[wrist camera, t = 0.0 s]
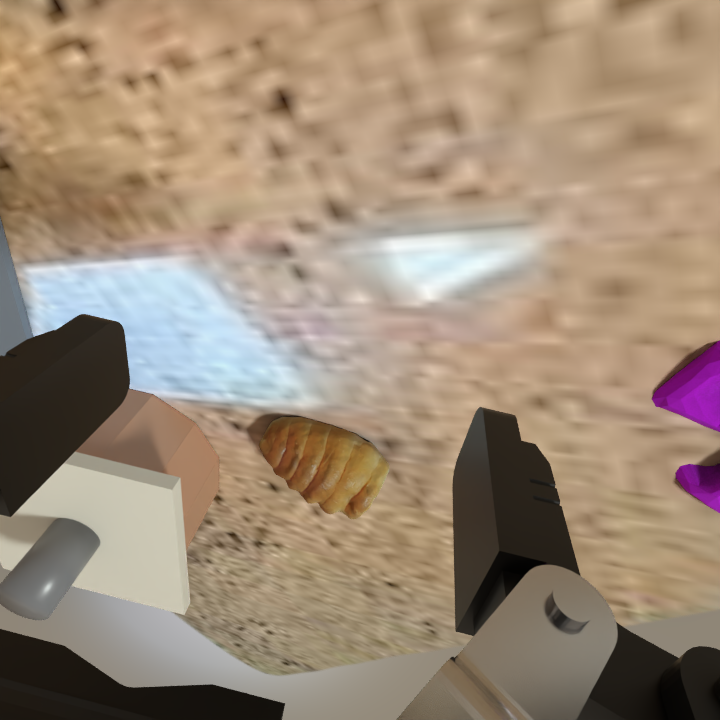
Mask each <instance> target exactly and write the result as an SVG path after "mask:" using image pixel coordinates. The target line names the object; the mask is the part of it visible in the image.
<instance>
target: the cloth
mask: <svg viewBox="0 0 720 720" xmlns="http://www.w3.org/2000/svg"><path fill="white" fill-rule="evenodd" d="M652 400H653V402H654V404H655V406H656V407H661V408H663V409H666V410H669V411H671V412H674V413H677V414H679V415H682V416H684V417H686V418H688V419H690V420H692V421H695V422H697V423H699V424H701V425H703V426H706V427H708V428H711V429H713V430H716V431H718V432H720V341H718V342H716V343H715V344H714V345H713V346H711V347H710V348H709V349H708V350H706V351H705V352H704V353H703V354H701V355H700V356H699V357H697V358H696V359H695V360H693V361H692V362H691V363H689V364H688V365H687V366H686V367H685V368H683V369H682V370H681V371H679V372H678V373H677V374H676V375H674V376H673V377H672V378H671V379H670V380H668V381H667V382H666V383H665V384H664V385H662V386H661V387H660V388H659V389H657V391H656V392H655V393H654V395H653V398H652ZM675 474H676V479H677V480H678V481H679V482H680V484H681V485H682V486H683V488H684V489H685V490H686V491H687V492H689V493H690V494H692V495H693V496H695V497H696V498H698V499H699V500H701V501H702V502H703V503H704V504H706V505H707V506H709V507H710V508H712V509H714V510H715V511H717V512H719V513H720V463H719V464H717V465H715V466H700V465H693V464H688V465H683V466H680V467H679V469H678V470H677V472H676V473H675Z"/></svg>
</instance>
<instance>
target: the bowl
mask: <svg viewBox="0 0 720 720" xmlns="http://www.w3.org/2000/svg"><path fill="white" fill-rule="evenodd" d="M75 452H78V453H82V454H86V455H90V456H95V457H99V458H103V459H107V460H111V461H115V462H119V463H123V464H127V465H131V466H135V467H139V468H144V469H148V470H152V471H156V472H160V473H164V474H168V475H172V476H176V477H180V480H181V493H182V506H183V519H184V531H185V544H186V550H187V548H188V546H189V544H190V542H191V540H192V539H193V537H194V535H195V533H196V531H197V529H198V527H199V525H200V523H201V522H202V520H203V518H204V516H205V514H206V512H207V510H208V508H209V506H210V505H211V503H212V501H213V499H214V497H215V495H216V493H217V491H218V489H219V457H218V455H217V454H216V452H215V451H214V449H213V448H212V446H211V445H210V444H209V442H208V441H207V439H206V438H205V436H204V435H203V433H202V432H201V430H200V429H199V427H198V426H197V424H196V423H195V422H193V421H192V420H190V419H189V418H187V417H186V416H184V415H183V414H181V413H180V412H178V411H177V410H175V409H174V408H172V407H171V406H169V405H168V404H166V403H165V402H163V401H162V400H160V399H159V398H157V397H156V396H154V395H152V394H148V393H144V392H140V391H135V390H131V389H128V393H127V395H126V398H125V399H124V401H123V403H122V404H121V405H120V406H119V407H118V409H117V410H116V411H115V412H114V413H113V414H112V415H111V416H110V417H109V418H108V419H107V420H106V421H105V422H104V423H103V424H102V425H101V426H100V427H99V428H98V429H97V430H96V431H95V432H94V433H93V434H92V435H91V436H90V437H89V438H88V439H87V440H86V441H85V442H84V443H83V444H82V445H81V446H80V447H79V448H78V449H77V450H76V451H75Z"/></svg>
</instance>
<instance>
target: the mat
mask: <svg viewBox="0 0 720 720" xmlns="http://www.w3.org/2000/svg"><path fill="white" fill-rule="evenodd" d="M32 337H33V334H32V331H31V327H30V323H29V320H28V316H27V313H26V309H25V305H24V302H23V298H22V294H21V291H20V287H19V283H18V280H17V276H16V273H15V269H14V265H13V262H12V258H11V254H10V251H9V247H8V244H7V240H6V236H5V233H4V229H3V225H2V222H1V218H0V356H1V355H2V356H5V355H6V352H8V351H9V350H11V349H12V348H14V347H15V346H17V345H19V344H20V343H22V342H23V341H25V340H27V339H29V338H32Z"/></svg>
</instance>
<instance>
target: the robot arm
mask: <svg viewBox="0 0 720 720" xmlns="http://www.w3.org/2000/svg"><path fill="white" fill-rule="evenodd" d="M129 384H130V376H129V368H128V359H127V351H126V342H125V334H124V329H123V327H122V325H121V324H120V323H119V322H116V321H112V320H108V319H103V318H99V317H95V316H90V315H86V314H82V315H79V316H77V317H75V318H74V319H72V320H71V321H69V322H68V323H66V324H65V325H63V326H62V327H60V328H58V329H57V330H53V331H50V332H47V333H44V334H41V335H38V336H35V337H32V338H29V339H27V340H25V341H23V342H22V343H20V344H19V345H17V346H15V347H14V348H12V349H11V350H9V351H8V352H6V355H5V356H2V355H1V356H0V515H4V516H8V517H11V516H12V515H13V514H14V513H15V512H16V511H17V510H18V509H19V508H20V507H21V506H22V505H23V504H24V503H25V502H26V501H27V500H28V499H29V498H30V497H31V496H32V495H33V494H34V493H35V492H36V491H37V490H38V489H39V488H40V487H41V486H42V485H43V484H44V483H45V482H46V481H47V480H48V479H49V478H50V477H51V476H52V475H53V474H54V473H55V472H56V471H57V470H58V469H59V468H60V467H61V466H62V465H63V463H64V462H65V461H66V460H67V459H68V458H69V457H70V456H71V455H72V454H73V453H74V452H75V451H76V450H77V449H78V448H79V447H80V446H81V445H82V444H83V443H84V442H85V441H86V440H87V439H88V438H89V437H90V436H91V435H92V434H93V433H94V432H95V431H96V430H97V429H98V428H99V427H100V426H101V425H102V424H103V423H104V422H105V421H106V420H107V419H108V418H109V417H110V416H111V415H112V414H113V413H114V412H115V411H116V410H117V409H118V407H119V406H120V405H121V404H122V403H123V401H124V399H125V398H126V395H127V393H128V389H129ZM559 504H560V499H559V496H558V492H557V489H556V488H555V481H554V477H553V474H552V470H551V466H550V463H549V462H548V461H547V459H546V458H545V457H544V455H543V454H542V453H541V451H540V450H539V449H538V447H537V446H536V444H533V443H528V442H524V441H521V437H520V432H519V428H518V423H517V419H516V416H515V415H512V414H508V413H503V412H499V411H495V410H491V409H486V408H482V407H480V408H478V410H477V411H476V413H475V415H474V418H473V420H472V423H471V425H470V428H469V431H468V433H467V436H466V438H465V441H464V443H463V446H462V448H461V451H460V453H459V456H458V459H457V462H456V466H455V470H454V476H453V530H454V578H455V626H456V632H460V633H464V634H468V635H472V636H473V638H472V639H471V640H470V641H469V642H468V644H467V645H466V646H465V647H464V648H463V650H462V651H461V652H460V653H459V654H458V655H457V656H456V657H455V658H454V657H451V658H450V659H449V660H448V661H447V662H446V663H445V664H444V665H443V666H442V667H441V668H440V669H439V670H438V672H437V673H436V674H435V675H434V676H433V677H432V679H431V680H430V681H429V682H428V683H427V684H426V686H425V687H424V688H423V689H422V690H421V691H420V693H419V694H418V695H417V696H416V697H415V698H414V700H413V701H412V702H411V703H410V704H409V705H408V707H407V708H406V709H405V710H404V711H403V712H402V714H401V715H400V716H399V717H398V718H397V720H720V650H718V649H715V648H711V647H702V646H699V647H693V648H691V649H689V650H688V651H686V652H685V653H684V654H683V655H682V656H681V657H680V658H678V657H676V656H674V655H672V654H670V653H668V652H667V651H664V650H663V649H661V648H659V647H657V646H656V645H654V644H652V643H650V642H648V641H646V640H645V639H643V638H641V637H639V636H637V635H636V634H633V633H631V632H630V631H628V630H627V629H625V628H624V627H622V626H621V625H619V624H618V623H617V622H616V620H615V617H614V615H613V613H612V610H611V608H610V607H609V605H608V603H607V602H606V600H605V599H604V598H603V596H602V595H601V594H600V593H599V592H598V591H597V589H596V588H595V587H594V586H592V585H591V584H590V583H589V582H588V581H587V580H585V579H584V578H582V577H581V576H580V573H579V569H578V565H577V562H576V558H575V554H574V551H573V547H572V543H571V540H570V536H569V532H568V529H567V525H566V521H565V518H564V514H563V510H562V507H561V506H560V505H559ZM284 706H285V703H281V702H277V701H273V700H269V699H266V698H262V697H257V696H254V695H250V694H247V693H242V692H239V691H235V690H231V689H227V688H223V687H220V686H216V685H188V686H164V687H141V688H140V687H139V688H132V687H126V686H123V685H121V684H119V683H118V682H116V681H115V680H113V679H112V678H111V677H109V676H108V675H106V674H105V673H103V672H102V671H100V670H99V669H97V668H96V667H95V666H93V665H92V664H90V663H88V662H87V661H86V660H84V659H83V658H81V657H80V656H78V655H77V654H76V653H74V652H73V651H71V650H70V649H68V648H67V647H65V646H63V645H59V644H55V643H51V642H48V641H44V640H40V639H36V638H33V637H29V636H24V635H21V634H17V633H13V632H10V631H6V630H2V629H0V720H282V716H283V711H284Z"/></svg>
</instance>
